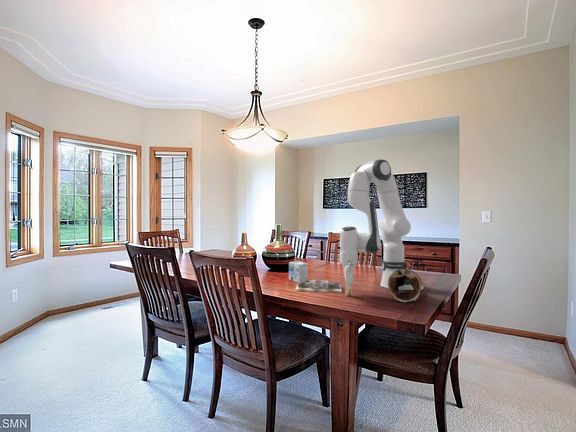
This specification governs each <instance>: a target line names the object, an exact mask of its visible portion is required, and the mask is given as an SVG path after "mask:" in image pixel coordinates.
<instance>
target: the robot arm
mask: <svg viewBox="0 0 576 432" xmlns="http://www.w3.org/2000/svg"><path fill="white" fill-rule="evenodd" d="M371 183H374V184H375V186H376V193H377V194H376V195H377V199H378V204H379V209H380V210H381V211H382V214H383V215H384V217H383V218H381V220H380V221H379V224H378V215H377V208H376V205H375V203H374V202H373V201H372V200H371V198H370V185H371ZM400 199H401V198H400V194H399V189H398V184H397V181H396V179H395V176H394V174H393V173H392V168H391V165H390V163H389V162H388V161H387V160H386V159H377V160H372V161H369V162H366V163H364V164H361V165H359V166H357V167H356V169H355V170H354V172H353V173H352V174H350V177H349V181H348V188H347V203H348V204H349V206H351V208H353V209H355V210H357V211H360V212H361V213H364V214H365V215H366V217H367V223H368V231H369V232H358V230H357V227H355V226H345V227H342V228H341V229H340V234H339V247H340V248H339V249H340V250H339V264H340V265H341V267H342V268H343V269H342V270H343V275H344V281H345V280H346V282H347V289H350V288H351V289H352V283H353V282H354V268H355V267H356V265H357V264H358V263H359V262H358V258H359V257H358V256H359V255H358V253H359V252H360V253H368V254H372V255H373V254H375V253H378V251H380V249H381V247H382V246H381V245H383V247H382V248H383V260H382V264H381V265H382V267H381V269H382V276H381V281H380V285H379V286H380V287H382V288H385V289H389V288H388V279H389V276H390V275H391V274H392V273H393V272H394V271H396V270H399V269H409V267H411V264H410V262H407V261H406V260H405V246H404V243H403V240H402V237H406V236H407V235H408V234H409V233H410V232H411V229H412V226H411V223H410V221H409V220H408V219H407V217H406V213H405V212H404V209H403V206H402V203H401V200H400ZM379 230H380V231H379ZM379 232H380V233H381V237H380V233H379ZM381 239H382V243H381ZM398 289H399V291H413V290H414V289H413V287H412V285H411V284H410V285H403V286H400V287H398ZM423 289H424V285H422V287H421V290H423Z"/></svg>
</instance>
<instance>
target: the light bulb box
mask: <svg viewBox="0 0 576 432" xmlns="http://www.w3.org/2000/svg"><path fill="white" fill-rule="evenodd" d="M308 271H309V263H307V262H304V261H303V262H302V261H298V260H296V261H290V262H288V280H290V281H293V282H295V283H299V282H300V281H304V282H308V281H309V278H308V277H309V276H308V275H309V273H308Z"/></svg>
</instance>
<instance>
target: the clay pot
mask: <svg viewBox="0 0 576 432" xmlns="http://www.w3.org/2000/svg"><path fill="white" fill-rule="evenodd" d="M410 284H411V285H412V287H413V289H414V290H411V292H409V293H401V292H400V290H399V289H398V287H400V286H403V285H410ZM422 286H423V285H422V279H421V277H420V276H419V275H418V274H417V273H416V272H415V271H414V270H411V269H409V268H408V269H399V270H396V271H394V272H393V273H392V274H391V275H390V276H389V279H388V288H387V289H388V290H389V293H390V294H391V295H392V297H393V298H394V299H395V300H396V301H399V302H403V303H407V302H416V301H417V299H418V298H419V297H420V293H421V287H422Z"/></svg>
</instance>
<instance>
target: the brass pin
mask: <svg viewBox="0 0 576 432" xmlns="http://www.w3.org/2000/svg"><path fill="white" fill-rule="evenodd" d="M344 281H345V282H344V285H345V287H344V288H345V289H344V292H345V293H344V295H345V297H349V298H350V297H352V287H351V288H350V289H347V282H346V280H345V279H344Z"/></svg>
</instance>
